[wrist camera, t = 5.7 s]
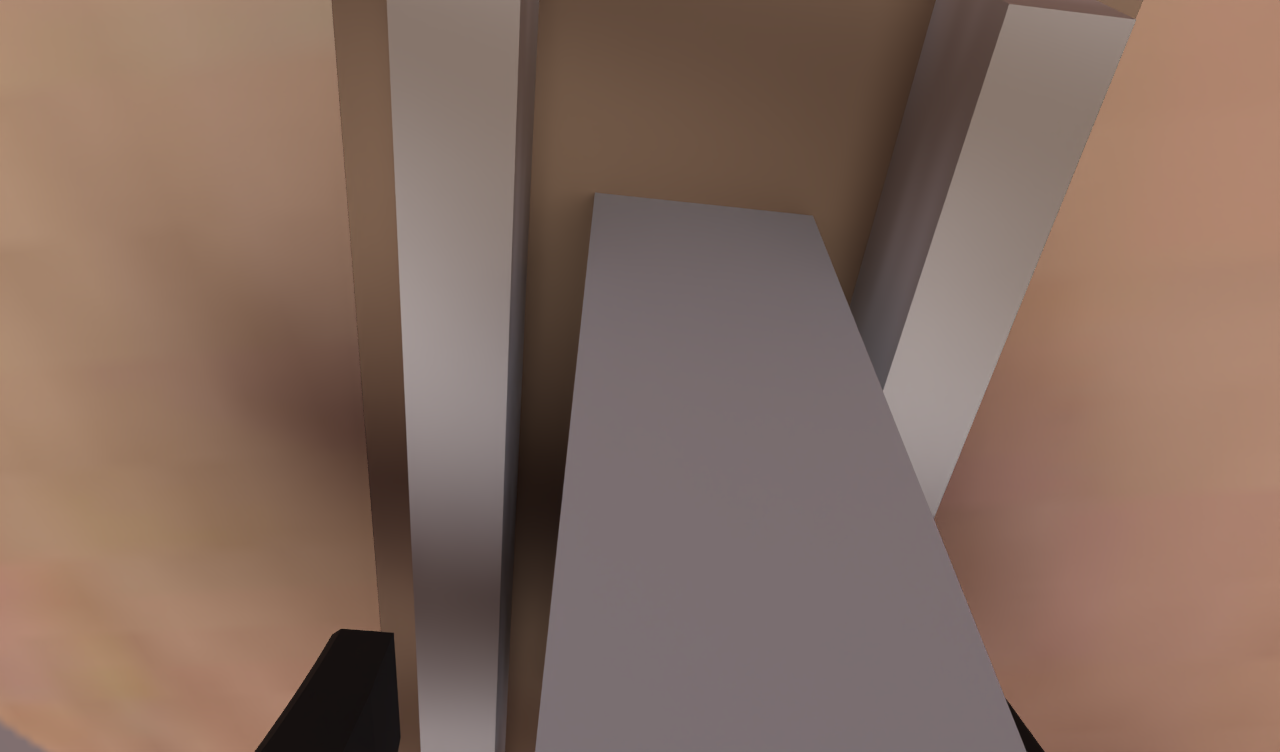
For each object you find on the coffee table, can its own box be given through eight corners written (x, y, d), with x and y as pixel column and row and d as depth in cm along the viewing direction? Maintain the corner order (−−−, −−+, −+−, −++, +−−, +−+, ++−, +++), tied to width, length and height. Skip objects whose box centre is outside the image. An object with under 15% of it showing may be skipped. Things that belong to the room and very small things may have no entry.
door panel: (697, 699, 17) (734, 1294, 10) (550, 688, 17) (492, 1288, 10) (812, 215, 11) (1060, 835, 5) (594, 192, 11) (530, 804, 4)
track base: (791, 781, 21) (815, 942, 18) (410, 757, 20) (372, 919, 18) (1090, -34, 11) (1249, 33, 8) (360, -126, 10) (252, -90, 8)
